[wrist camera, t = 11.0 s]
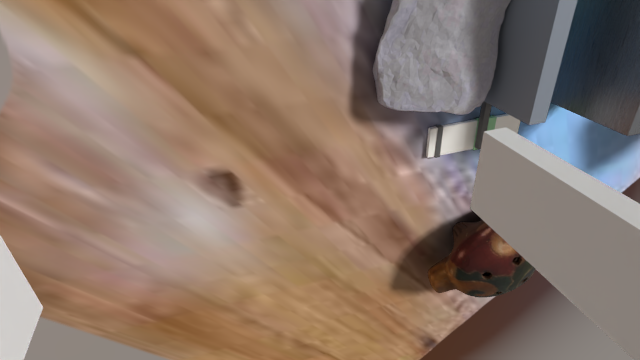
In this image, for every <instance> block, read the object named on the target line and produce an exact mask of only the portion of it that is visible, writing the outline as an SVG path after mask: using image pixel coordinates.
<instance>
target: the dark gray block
mask: <svg viewBox="0 0 640 360" xmlns="http://www.w3.org/2000/svg"><path fill="white" fill-rule="evenodd" d="M551 103H553V104H555V105H557V106H560V107H562V108H564V109H567V110H569V111H571V112H573V113H576V114H578V115H580V116H583V117H585V118H587V119H590V120H592V121H594V122H596V123H599V124H601V125H603V126H606V127H608V128H610V129H612V130H615V131H617V132H619V133H622V134H624V135H626V136H630V135H635V134H640V0H577V4H576V8H575V12H574V15H573V19H572V23H571V27H570V31H569V34H568V38H567V42H566V46H565V49H564V53H563V57H562V61H561V64H560V68H559V72H558V76H557V80H556V83H555V87H554V91H553V95H552V98H551Z"/></svg>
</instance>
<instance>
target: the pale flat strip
mask: <svg viewBox="0 0 640 360" xmlns="http://www.w3.org/2000/svg"><path fill="white" fill-rule="evenodd" d="M478 123H479V118H475V119H474V120H469V121H463V122H457V123H452V124H446V125H436V126H435V127H429V128H428V138H427V148H426V157H427V158H429V157H435V158H437V157H440V155H445V154H450V153H455V152H460V151H465V150H470V149H472V150H477V148H475V141H476V135H477V129H478ZM519 125H520V120H518V119H516V118H514V117H513V116H511V115H509V114H502V115H497V116H494V115H492V116H490V117H489V122H488V128H487V131H489V130H495V129H500V128H508V129H510V130H512V131H513V132H515V133H517V134H518V130H519Z"/></svg>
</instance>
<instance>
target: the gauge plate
mask: <svg viewBox="0 0 640 360" xmlns="http://www.w3.org/2000/svg"><path fill="white" fill-rule="evenodd" d="M576 4H577V0H511V1H510V3H509V4H508V6H507V8H506V10H505V15H504V19H503V22H502V24H501V27H500V31H499V38H498V54H497V61H496V68H495V71H494V77H493V81H492V85H491V89H490V90H489V91H488V93H487V96H486V98H485V101H484V102H483V103H482V106H481V112H480V118H479V123H478V129H477V135H476V141H475V148H477V149H478V150H479V149H481V145H482V139H483V134H484V131H487V128H488V122H489V117H490V112H491V106H494V107H496V108H497V109H499V110H501V111H503V112H505V113H507V114H509V115H511V116H513V117H514V118H516V119H518V120H520V121H522V122H524V123H526V124H528V125H533V124H538V123H543V122H545V121H546V117H547V113H548V110H549V106H550V102H551V98H552V95H553V91H554V87H555V83H556V80H557V76H558V72H559V68H560V64H561V61H562V57H563V53H564V49H565V46H566V42H567V38H568V34H569V31H570V27H571V23H572V19H573V15H574V12H575V8H576Z"/></svg>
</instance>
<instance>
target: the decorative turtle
mask: <svg viewBox="0 0 640 360" xmlns="http://www.w3.org/2000/svg"><path fill="white" fill-rule="evenodd" d="M453 238H454V247H453V249H452V252H451V254H450V255H449V256H447V257H446V258H444V259H443V260H441V261H440V262H438V263H437V264H435V265H434V266H432V267H431V268H430V269H429V270H428V278H429V281H430V284H431V286H432V287H433V289H434V290H435V291H436V292H438V293H442V292H446V291H449V290H453V289H457V290H459V291H461V292H463V293H465V294H467V295H470V296H475V297H492V296H497V295H501V294H504V293H507V292H509V291H512V290H514V289H516V288H517V287H519V286H520V285H522V284H523V283H524V282H526V281H527V280H528V279H529V278H530V277H531V276H532V274H533V273H534V271H535V268H534V267H533V266H532V265H531V264H530V263H529V262H528V261H526V260H525V259H524V258H523V257H522V256H521V255H520V254H519V253H518V252H517V251H516V250H515V249H513V248H512V247H511V246H510V245H509V244H508V243H507V242H506V241H505V240H504V239H503V238H502V237H500V236H499V235H498V234H497V233H496V232H495V231H494V230H493V229H492V228H491V227H490V226H489V225H488V224H486V223H485V222H484V221H483V220H481V221H479V222H474V223H472V222H461V223H457V224H455V226H454V228H453Z"/></svg>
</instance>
